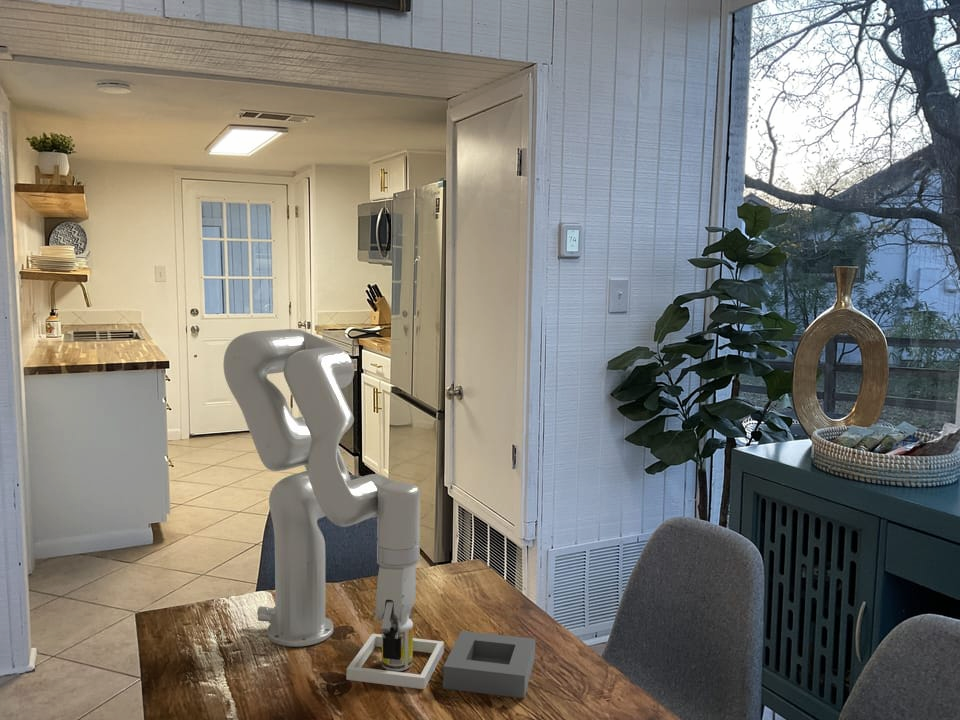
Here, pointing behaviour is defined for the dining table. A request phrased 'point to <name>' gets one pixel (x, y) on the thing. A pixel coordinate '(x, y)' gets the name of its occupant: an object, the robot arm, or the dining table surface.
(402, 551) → the robot arm
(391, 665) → the supplement bottle
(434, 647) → the tray rim
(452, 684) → the gray square socket block
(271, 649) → the dining table surface
